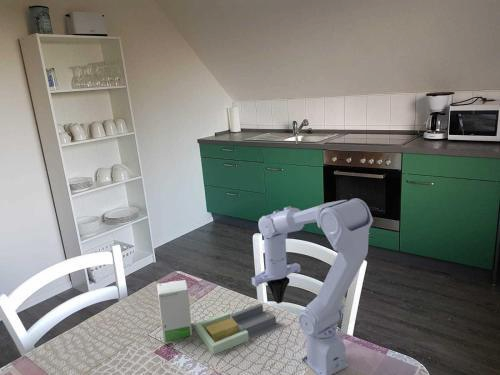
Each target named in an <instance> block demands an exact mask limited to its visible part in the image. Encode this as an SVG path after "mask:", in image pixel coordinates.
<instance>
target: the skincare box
mask: <svg viewBox="0 0 500 375" xmlns="http://www.w3.org/2000/svg"><path fill="white" fill-rule="evenodd" d="M156 290H157V299H158V307H159V316H160V323H161V324H160V325H161V333H162V339H163V345H169V344H172V343H173V342H172V341H173V340H178V339H182V338H186V337H189V336H190V337H191V336H193V330H192V329H193V328H192V327H193V326H192V319H191V311H190V310H191V308H190V299H189V289H188V284H187V280H186V279H183V280H175V281H168V282H164V283H157V284H156Z"/></svg>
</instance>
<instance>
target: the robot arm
mask: <svg viewBox="0 0 500 375" xmlns="http://www.w3.org/2000/svg"><path fill="white" fill-rule="evenodd" d="M373 222H374V219H373V216H372V213H371V211H370V208H369V206H368V205H367V203H366V202H365V201H364V200H362V199H360V198H357V197H356V198H351V199H349V200H348V199H341V200H337V201H331V202H325V203H322V204H320V205H317V206H313V207H310V208H307V209H303V210H301V209H300V208H298V207H292V205H289V206H286V207H283V210H279V209H278V210H274V211H273V212H272V213H270V214H267V215H262V216H261V217H260V218H259V220H258V230H259V232H260V234H261V235H262V237H263V245H264V246H263V247H264V261H265V270H263V271H261V272H260V273H258V274H257V275H255V276H253V277H251V285H252V286H254V287H255V288H257V287H259V286H260V285H261V284H267V286H268V287H269V290H270V291H271V293H272V297H273V301H274V302H275V303H276V304H282V303H283V300H284V296H285V291H286V289H287V287H288V285H289V284H290V278H289V277H288V276H289V275H291V274H294V273H300V272H301V265H300V264H299V263H297V262H295V263H290V264H288V263H287V262H288V261H287V260H288V259H287V244H286V243H287V242H286V239H287V238H288V234H289V233H290V234H291V233H294V232H299V231H302V229H303V228H304V227H305V225H306V224H307V225H308V224H313V223H317V224H316V225H317V227H318V228H319V229H321V230H322V231H323V233H324V235H325V236H326V238H327V240H328V241H329V243H330V245H331V246H332V248H333V250H334V252H337V255H336V257H335V259H334V261H333V263H332V265H331V266H330V269H329V271H328V272H327V275H326V277H325V279H324V281H323V283H322V286H320V289H319V292H318V293H317V296H316V297H314V299H313V300H311V302H310V303H308V304H307V305H306V307H305V309H303V310H301V311H300V312H299V314H298V323H299V326H300V329H301V330H302V331H303V333H305V335H306V336H305V339H306V356H305V357H303V358H301V360H302V361H303V362H304V363H305V364H306V365H307V366H309V368H311V369H312V370H313V371H314V373H316V374H317V375H334V374H336V373H337V372H340V371H342V370H344V369H345V368H347V367H349V364H348V363H347V362H346V345H345V343H344V341H343V340H342V339H341V338H340V337H339V335H338V333H337V328H338V327H339V326H338V323H339V322H340V321H342V319H343V312H344V311H343V310H344V307H345V304H344V302H343V299H344V297H345V296H346V294H347V292H348V291H349V288H350V287H351V284H353V281H354V280H355V277H357V274H358V272H359V270H360V268H361V267H362V265H363V263H364V261H365V260H366V257H367V256H368V253H369V251H368V250H369V235H370V234H369V232H370V228H371V226H372V224H373Z"/></svg>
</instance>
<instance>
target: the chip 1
mask: <svg viewBox="0 0 500 375" xmlns="http://www.w3.org/2000/svg"><path fill="white" fill-rule="evenodd" d="M206 332H207V333H208V334H209V336H210V337H211V338H212V339H213V341H214V342H217V341H220V340H222V339H225V338H226V335H225V329H224V328H223V327H222V325H221V324H220V323H219V322H218V323H215V324H213V325H210V326H207V327H206Z"/></svg>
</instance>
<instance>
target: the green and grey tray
mask: <svg viewBox="0 0 500 375" xmlns="http://www.w3.org/2000/svg"><path fill="white" fill-rule="evenodd" d="M263 306H264V305H263V304H262V303H258V304H256V305H252V306H251V307H248V308H245V309H242V310H239V311H237V312H234V313H232V314H231V312H229V311H226V312H224V313H221V314H219V315H216V316H213V317H211V318H207V319H205V320H202V321H200V322H197V323H195V324H194V325H195V332H196V333H197V335H198V336H199V338H200V339H201V340H202V341H203V343H204V345H206V347H207V348H208V350H209V351H210V352H211V354H212V355H217V354H219V353H221V352H223V351H225V350H228V349H231V348H233V347H235V346H238V345H240V344H243V343H245V342H247V341H250V340H253V339H255V338H257V337H260V336H263V335H264V334H267V333H269V332H272V331H274V330H277V329H280V326H279V325H278V324H277V317H276V315H275V314H271V315H266V313H264V307H263ZM230 318H232V319H233V320H234V321H235V322H236V323H237V324H238V327H239V333H237V334H235V335H232V336H230V337H227V338H225V339H222V340H220V341H217V342H214V341H213V339H212V338H211V337H210V336H209V334H208V333H207V332H206V327H207V326H210V325H213V324H215V323H218V322H222V321H225V320H227V319H230Z"/></svg>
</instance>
